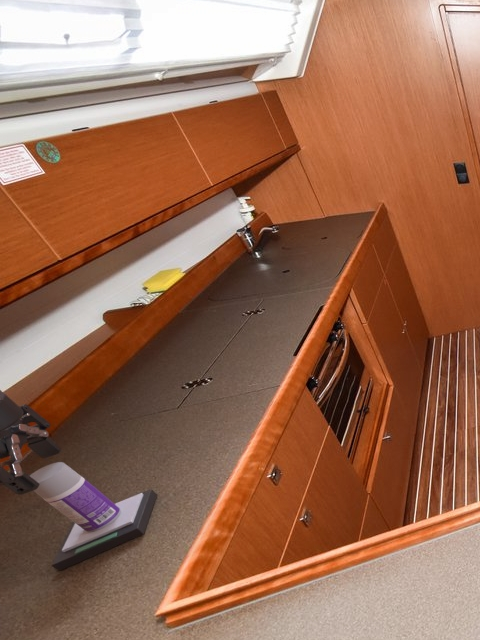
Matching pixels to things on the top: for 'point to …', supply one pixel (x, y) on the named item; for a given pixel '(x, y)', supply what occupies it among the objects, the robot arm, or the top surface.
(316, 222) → the top surface
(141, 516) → the scale
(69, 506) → the container
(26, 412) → the robot arm
